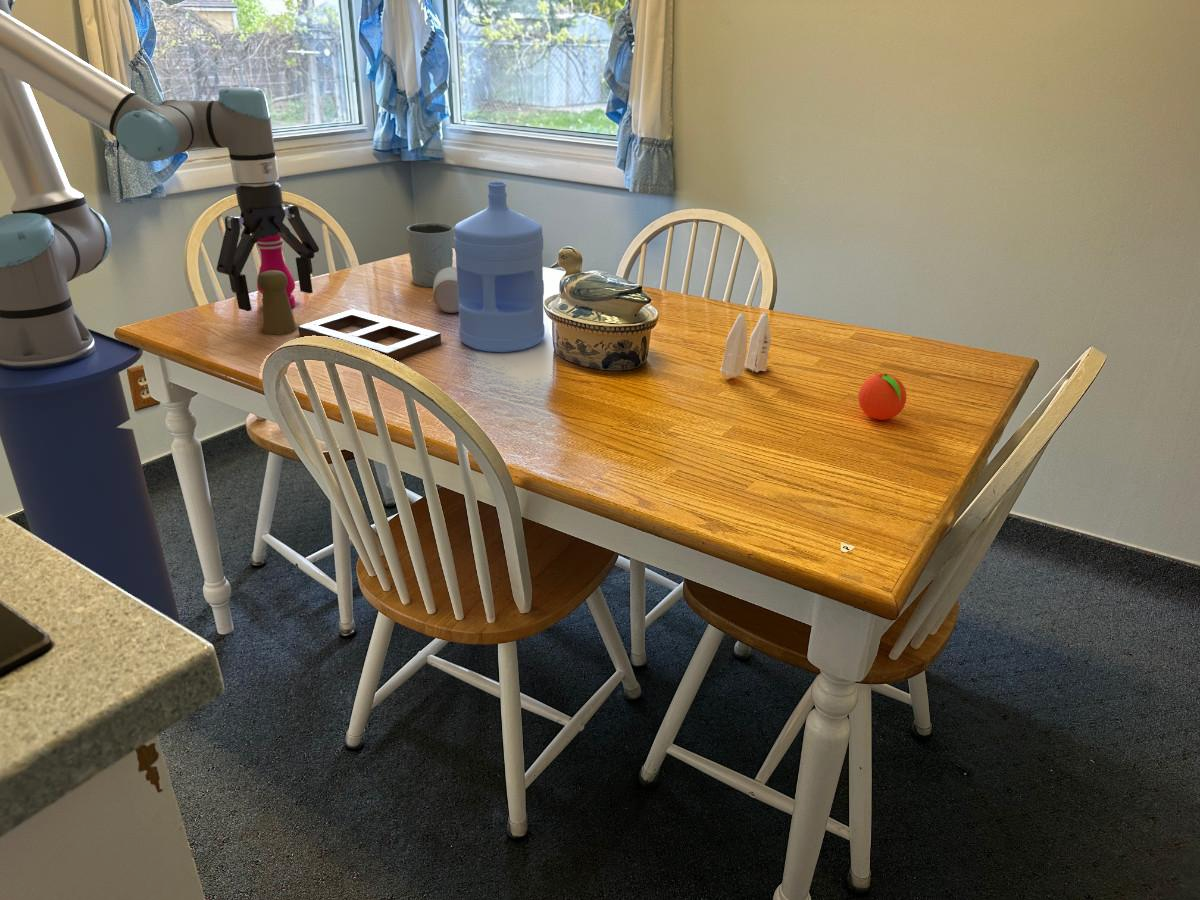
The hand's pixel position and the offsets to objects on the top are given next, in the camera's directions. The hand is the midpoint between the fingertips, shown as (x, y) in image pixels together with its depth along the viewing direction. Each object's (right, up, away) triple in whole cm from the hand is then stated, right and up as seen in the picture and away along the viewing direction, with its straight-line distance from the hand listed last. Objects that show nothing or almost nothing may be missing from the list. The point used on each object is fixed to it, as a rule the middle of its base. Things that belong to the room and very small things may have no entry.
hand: (276, 300), depth 163 cm
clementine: (+103, -23, -30) cm, 110 cm away
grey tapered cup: (+23, +10, +33) cm, 41 cm away
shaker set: (+84, -15, -15) cm, 87 cm away
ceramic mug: (+32, +1, +16) cm, 35 cm away
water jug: (+42, -7, -1) cm, 43 cm away
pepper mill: (-5, +1, +15) cm, 16 cm away
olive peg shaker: (0, -5, +3) cm, 6 cm away
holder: (+18, -8, -2) cm, 19 cm away
